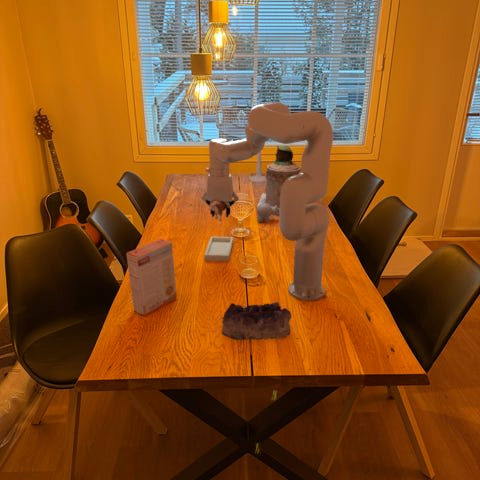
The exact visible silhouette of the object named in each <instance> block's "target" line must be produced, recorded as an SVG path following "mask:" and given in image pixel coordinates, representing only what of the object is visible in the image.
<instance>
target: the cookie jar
mask: <svg viewBox="0 0 480 480" xmlns="http://www.w3.org/2000/svg"><path fill="white" fill-rule="evenodd" d="M293 159H294V152H293V150H292V149H291V147H290V146H288V145H278V144H277V145H276V153H275V160H274V161H273V162H272V163H271V164H268V165H267V166H266V173H265V174H266V175H265V176H266V179H267V182H265V183H266V185H265V189H264V190H265V192H262V194H261V196H260V198H259V201H258V204H257V205H256V206H257V207H258V206H259V205H260V204H262V203H267V204H269V205H270V206H271V207H275V205H277V207H278V208H279V210H280V192H281V188H282V185H283V183H284V182H285V181H286V180H287V179H288V178H289V177H291V176H294V175H298V174H299V173H300V171H301V166H299V165H298V164H297V163H295V162H293Z"/></svg>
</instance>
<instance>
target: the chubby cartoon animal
mask: <svg viewBox="0 0 480 480" xmlns="http://www.w3.org/2000/svg"><path fill="white" fill-rule="evenodd" d="M279 212H280V210H279V208H278V207H277V205H275V207H271V206H270V205H269V204H267V203H262V204H260V205H259V206H257V207H256V214H257V217H256V219H257V222H259V223H261V222H265V223H269V222H270V221H271V220H270V217H271V216H276V217H279Z"/></svg>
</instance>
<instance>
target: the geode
mask: <svg viewBox="0 0 480 480" xmlns="http://www.w3.org/2000/svg"><path fill="white" fill-rule="evenodd" d="M292 317H293V316H292V313H291V311H290V310H289V309H288V308H286V307H285V308H284V307H283V308H281V306H280V303H279V302H278V301H275V302H272V303H264V304H251V305H250V304H248V305H247V306H246V307H244V306H243V305H242V304H237V305H236V304H235V303H234V302H231V303H230V305H229V306H228V308H227V309H226V310H225V312H224V314H223V317H222V318H221V319H222V320H221V323H222V328H221V334H222V335H223V336H225V337H226V338H230V339H232V340H236V341H239V340H240V341H241V340H268V339H280V338H287V337H288V336H290V334H291V332H292V330H291V325H290V320H291V319H292Z"/></svg>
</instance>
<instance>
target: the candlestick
mask: <svg viewBox="0 0 480 480" xmlns="http://www.w3.org/2000/svg"><path fill="white" fill-rule="evenodd" d="M261 151H262V150H261ZM261 151H260V152H259V153H257V154H256V172H255V175H252V176H250V177H249V178H248V181H249V182H251V183H255V184H260V183H261V184H262V183H263V184H264V183H267V179H266V175H263V173H262V172H263V171H262V152H261Z"/></svg>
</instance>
